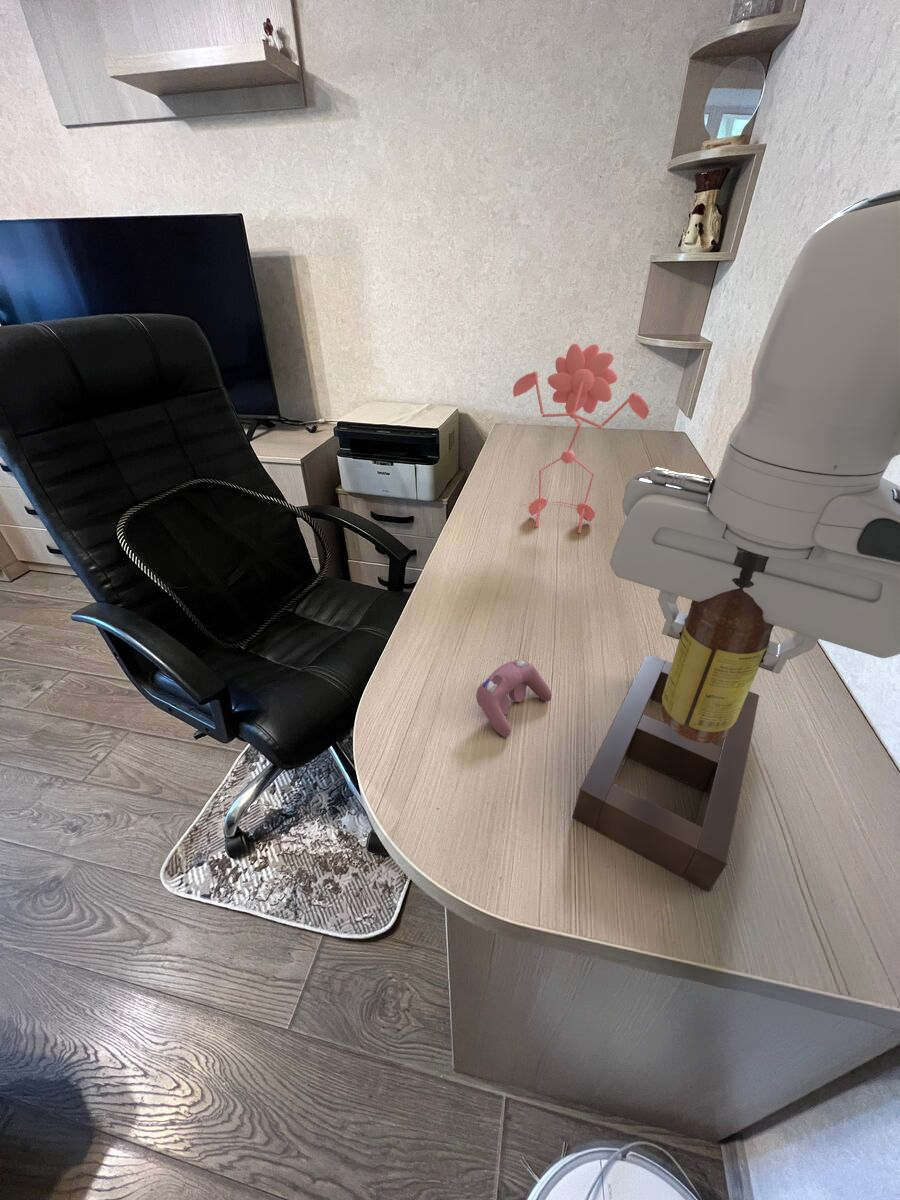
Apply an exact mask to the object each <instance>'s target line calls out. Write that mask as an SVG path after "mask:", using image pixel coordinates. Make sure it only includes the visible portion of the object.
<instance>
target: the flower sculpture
mask: <svg viewBox="0 0 900 1200" xmlns="http://www.w3.org/2000/svg"><path fill="white" fill-rule="evenodd" d="M599 349H600V348H599V345H598V344H597V343H594V344H590V345H589V346H587V347H585V349H584V350H582V349H581V347H580V345H579V344H578V343H571V345H569V348H568V350H567V352H566V356H565V357H563V356H558V357H557V358H556V360H555V371H556V372H557V373H552V374H551V375H549V376H548V378H547V383H548V385H549V386H550V387H551V388H552V389H554V392H553V394H552V401H553V402H554V403H555V404H556V403H558V404H565V405H564V409H565V413H564V412H563V413H544V407H543V403H542V396H541V392H540V386H539V380H538V379H539V375H538V372H537V371H536V370H534V371H533V372H529V373H525V375H523V376H521V377H520V378H519V379H518V380H517V381H516V382H515V384H514V385H513V387H512V394H513V398H515V397H518V396H521V395H523V394H525V393H527V392H528V391H530V390H531V389H532V388H534V386H535V388H536V389H535V390H536V394H537V400H538V406H539V411H540V415H542V416H541V418H554V417H555V418H557V417H570V418H571V419H573V420H574V421H575V423H576V424H577V427H576V429H575V431H574V434H573V436H572V439H571V442H570V443H569V447H568V449H566V450H564V451H563V452H562V453H561V456H560V457H559V458H557V459H556V460H554V461H552V462H550V463H549V464H547V465H545V466H544V467H542V468H540V469H539V471H538V498H536V499H535V500H533V501H531V502H529V503H525V504H520V505H519V506H520V507H522V506H525V505H526V506H527V505H529V506H528V513H529V514H530V516H532V517H533V516H535V515H536V519H535V524H534V527H535V528H538V527H539V522H540V515H541V511H542V510H543V509H544V508H545V507H546V506H547V505H548V504H547V503H548V501H547V498H546V497H544V496H543V497H542V471H543V470H545V469H547V468H549V467H550V466H552V465H554V464H556V463H557V462H559V461H562V462H563V463H564V464H572V463H573V462H576V463H577V464H578V465H579V466H580V467H582V468H583V469H585V471H587V472H588V473H589V474H591V477H590V481H589V484H588V489H587V492H586V495H585V498H584V502H579V503H577V505H576V504H572V503H569V505H570V506H575V507H576V513H577V514H578V515H579V516H580V518H579V523H578V530H577V534H581V532H582V526H583V520H585V521H587V522H588V523H590V522H591V521H592V520H594V518H595V517H596V511H595V509H594V508H593V507H592V506H591V504H589V503H587V500H588V499H589V498H588V497H589V494H590V491H591V486H592V482H593V480H594V476H595V475H594V472H593V471H591V470H590V468H588V467H586V466H585V465H584V464H583V463H581V462H580V461H579V460H578V459H577V458H575V457H576V455H575V452H574V451H573V450H571V449H572V447H573V444H574V443H575V440H576V439H577V436H578V433H579V431H580V429H581V426H582V423H581V422H580V421H582V422H584V423H587V424H588V425H591V426H593V427H596V428H598V429H600V430H601V429H602V428H604V427H605V426H606V425H607V424H608V423H609V421H611V420H612V419H613V418H615V416H616V415H617V414H618V413H619V412H620V411H621V410H622V409H623V408H624V407H626V405H627V404H628V405H629V407H630V409H631V410H632V411H633V412H634V413H635V414H636V415H637V416H638V417H639V418H640V419H641V420H643V421H644V420H646V419H647V417H648V415H649V414H650V407H649V405H648V403H647V401H645V399H644V398H643V397H642V396H641V395H639V394H637V392H635V391H633V392H632V393H630V394H629V396H628V398H627V399H626V400H625V401H624V402H623V403H622V404H621V405H620V406H619V407H618V408H617V409H616V410H615V411H614V412H613V413H611V414H610V415H609V416H608V418H607V419H606V420H604V421H603V422H602V423H601V424H599V423H596V422H594V421H592V420H590V419H588V418H585V417H583V416H580V415H578V414H577V412H578V411H580V410H581V409H583V411H584V412H585V413H587V414H593V413H594V412H595V410H596V408H597V406H598V403H599V402H603V403H608V402H610V401H611V399H612V389H611V386H610V385H613V384H614V383H616V382H617V381H618V376H617V374H616V372H614V370H613V369H611V368H609V367H610V366H611V365H612V363H613V361H614V355H613V354H612V353H611V352H605V351H603V352H599ZM553 503H554V504H561V501H559V500H558V501H553ZM563 504H564V505H568V503H567V502H563ZM609 536H610V535H608V536H607V538H609Z"/></svg>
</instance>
